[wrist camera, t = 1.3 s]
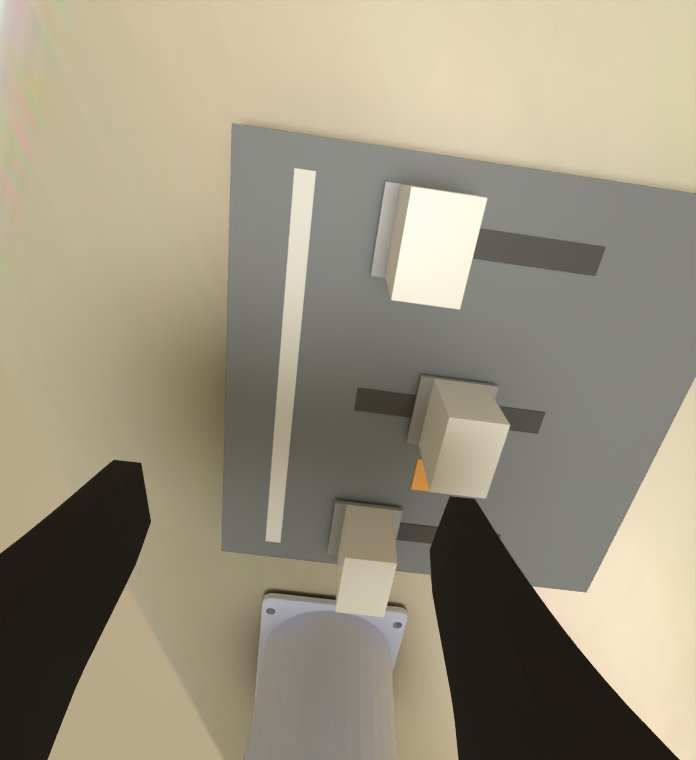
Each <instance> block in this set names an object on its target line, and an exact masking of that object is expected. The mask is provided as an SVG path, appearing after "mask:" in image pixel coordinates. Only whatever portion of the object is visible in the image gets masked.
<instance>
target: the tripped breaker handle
mask: <svg viewBox="0 0 696 760" xmlns="http://www.w3.org/2000/svg"><path fill="white" fill-rule="evenodd" d="M498 388H499V386H498V385H497V384H489V383H482V382H474V381H466V380H459V379H451V378H444V377H436V376H428V375H421V376H420V381H419V385H418V390H417V394H416V399H415V403H414V408H413V412H412V417H411V421H410V426H409V430H408V434H407V439H406V442H407V443H410V444H418V445H419V448H420V452H421V457H422V461H423V465H424V470H425V474H426V478H427V483H428V487H429V492H435V493H443V494H451V495H459V496H468V497H476V498H484V499H486V497H487V494H488V491H489V488H490V485H491V482H492V479H493V476H494V473H495V470H496V467H497V464H498V461H499V458H500V455H501V452H502V449H503V446H504V443H505V440H506V437H507V434H508V431H509V427H510V424H509V422H508V420H507V419H506V417H505V416H504V414H503V412H502V411H501V409H500V407H499V406H498V404H497V402H496V401H495V397H496V394H497V391H498Z"/></svg>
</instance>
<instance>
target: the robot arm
mask: <svg viewBox="0 0 696 760" xmlns="http://www.w3.org/2000/svg"><path fill="white" fill-rule="evenodd" d="M150 523H151V519H150V513H149V507H148V501H147V495H146V489H145V483H144V477H143V471H142V465H141V463H137V462H128V461H119V460H113V461H112V462H111V463H109V464H108V465H107V466H106V467H105V468H103V469H102V470H101V471H100V472H99V473H97V474H96V475H95V476H94V477H93V478H92V479H91V480H89V481H88V482H87V483H86V484H85V485H84V486H82V487H81V488H80V489H79V490H78V491H77V492H75V493H74V494H73V495H72V496H71V497H70V498H68V499H67V500H66V501H65V502H64V503H63V504H61V505H60V506H59V507H58V508H57V509H55V510H54V511H53V512H52V513H51V514H49V515H48V516H47V517H46V518H45V519H43V520H42V521H41V522H40V523H38V524H37V525H36V526H35V527H34V528H32V529H31V530H30V531H29V532H27V533H26V534H25V535H24V536H22V537H21V538H20V539H19V540H17V541H16V542H15V543H14V544H12V545H11V546H10V547H8V548H7V549H6V550H4V551H3V552H2V553H0V760H47V759H48V757H49V754H50V752H51V749H52V746H53V744H54V741H55V739H56V736H57V733H58V731H59V728H60V726H61V723H62V721H63V718H64V716H65V713H66V711H67V708H68V706H69V703H70V701H71V698H72V695H73V693H74V690H75V688H76V686H77V684H78V682H79V679H80V677H81V675H82V673H83V670H84V668H85V666H86V664H87V662H88V660H89V658H90V656H91V654H92V652H93V650H94V648H95V646H96V644H97V642H98V640H99V638H100V636H101V634H102V632H103V630H104V627H105V626H106V624H107V622H108V620H109V618H110V616H111V614H112V612H113V610H114V608H115V605H116V604H117V602H118V599H119V598H120V595H121V594H122V591H123V589H124V587H125V585H126V583H127V581H128V579H129V577H130V575H131V573H132V571H133V569H134V567H135V565H136V562H137V559H138V557H139V554H140V551H141V549H142V546H143V543H144V540H145V537H146V534H147V531H148V529H149V526H150ZM430 566H431V581H432V593H433V599H434V605H435V610H436V616H437V621H438V627H439V632H440V638H441V643H442V649H443V654H444V659H445V665H446V670H447V676H448V681H449V687H450V692H451V698H452V705H453V711H454V718H455V728H456V738H457V748H458V758H459V760H679V759H678V758H677V757H676V756H675V755H674V754H673V753H672V751H671V750H670V749H669V748H668V747H667V746H666V745H665V744H664V743H663V742H662V741H661V740H660V739H659V738H658V737H657V736H656V735H655V734H654V733H653V732H652V731H651V729H650V728H649V727H648V726H647V725H646V724H645V723H644V722H643V721H642V720H641V719H640V718H639V717H638V716H637V715H636V714H635V713H634V712H633V711H632V710H631V709H630V708H629V706H628V705H627V704H626V703H625V702H624V701H623V700H622V699H621V698H620V696H619V695H618V694H617V693H616V692H615V691H614V690H613V689H612V687H611V686H610V685H609V684H608V683H607V682H606V681H605V679H604V678H603V677H602V676H601V675H600V674H599V672H598V671H597V670H596V669H595V668H594V666H593V665H592V664H591V663H590V662H589V660H588V659H587V658H586V657H585V656H584V654H583V653H582V652H581V651H580V649H579V648H578V647H577V646H576V645H575V643H574V642H573V641H572V639H571V638H570V637H569V636H568V634H567V633H566V632H565V631H564V629H563V628H562V627H561V625H560V624H559V623H558V621H557V620H556V619H555V617H554V616H553V615H552V613H551V612H550V611H549V609H548V608H547V607H546V605H545V604H544V602H543V601H542V600H541V598H540V597H539V595H538V594H537V593H536V591H535V590H534V588H533V587H532V585H531V584H530V583H529V581H528V580H527V578H526V577H525V575H524V574H523V572H522V571H521V570H520V568H519V567H518V565H517V564H516V562H515V561H514V559H513V558H512V556H511V555H510V553H509V552H508V550H507V548H506V547H505V545H504V544H503V542H502V541H501V539H500V538H499V536H498V534H497V533H496V531H495V530H494V528H493V526H492V525H491V523H490V522H489V520H488V518H487V517H486V515H485V514H484V512H483V510H482V509H481V507H480V506H479V504H478V503H477V501H476V500H475V499H472V498H462V497H453V496H450V497H449V499H448V502H447V505H446V507H445V510H444V512H443V515H442V518H441V520H440V523H439V526H438V528H437V531H436V534H435V536H434V539H433V542H432V544H431V547H430ZM335 608H336V600H331V599H322V598H313V597H304V596H295V595H286V594H277V593H269V594H266V595H265V596H264V598H263V602H262V611H261V624H260V636H259V649H258V662H257V674H256V687H255V704H254V710H253V715H252V720H251V725H250V730H249V736H248V741H247V746H246V751H245V756H244V760H398V750H397V736H396V722H395V708H394V694H393V679H392V674H393V670H394V667H395V663H396V660H397V656H398V653H399V649H400V645H401V642H402V638H403V635H404V631H405V628H406V624H407V620H408V614H407V611H406V610H405V609H404V608H402V607H395V606H387V607H386V611H385V615H384V617H376V616H367V615H358V614H348V613H339V612H335Z"/></svg>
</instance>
